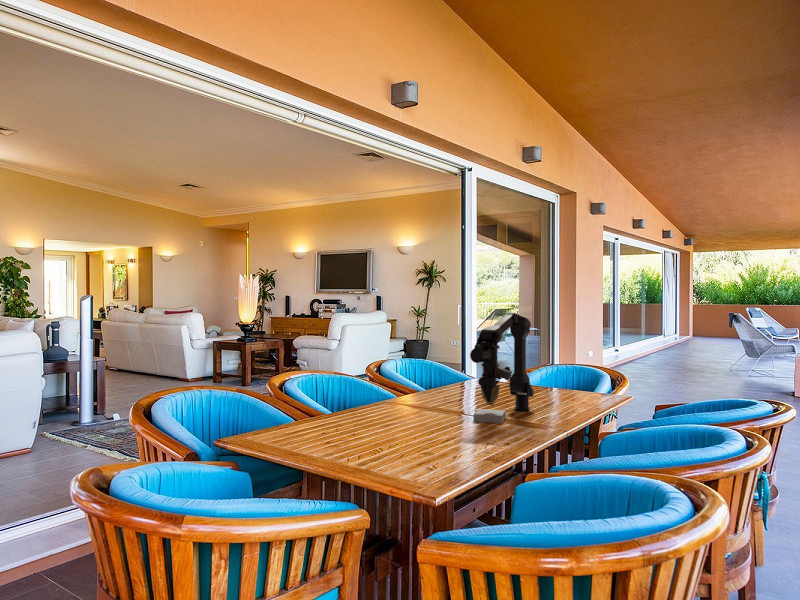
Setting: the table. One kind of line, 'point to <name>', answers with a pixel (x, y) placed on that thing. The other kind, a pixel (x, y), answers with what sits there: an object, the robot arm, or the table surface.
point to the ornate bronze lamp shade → (492, 395)
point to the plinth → (489, 415)
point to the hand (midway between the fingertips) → (490, 400)
